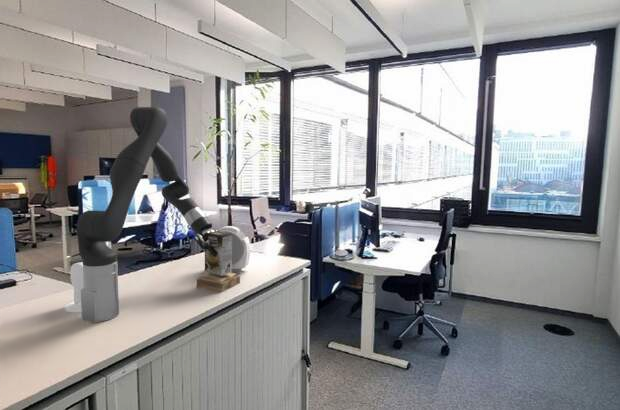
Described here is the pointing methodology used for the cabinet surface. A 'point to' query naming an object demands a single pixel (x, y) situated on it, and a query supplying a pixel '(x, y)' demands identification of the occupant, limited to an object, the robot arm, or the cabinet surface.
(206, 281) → the brown flat block
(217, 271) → the coffee box
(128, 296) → the cabinet surface
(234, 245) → the alarm clock
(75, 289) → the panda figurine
